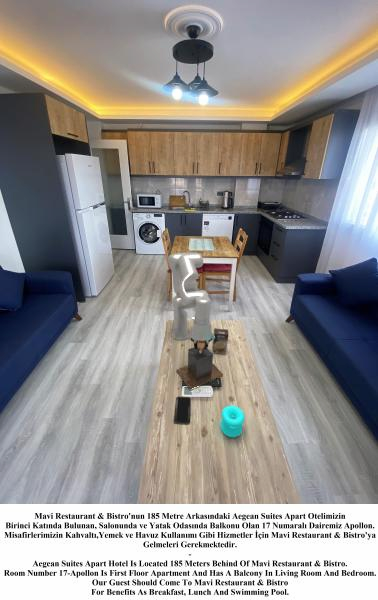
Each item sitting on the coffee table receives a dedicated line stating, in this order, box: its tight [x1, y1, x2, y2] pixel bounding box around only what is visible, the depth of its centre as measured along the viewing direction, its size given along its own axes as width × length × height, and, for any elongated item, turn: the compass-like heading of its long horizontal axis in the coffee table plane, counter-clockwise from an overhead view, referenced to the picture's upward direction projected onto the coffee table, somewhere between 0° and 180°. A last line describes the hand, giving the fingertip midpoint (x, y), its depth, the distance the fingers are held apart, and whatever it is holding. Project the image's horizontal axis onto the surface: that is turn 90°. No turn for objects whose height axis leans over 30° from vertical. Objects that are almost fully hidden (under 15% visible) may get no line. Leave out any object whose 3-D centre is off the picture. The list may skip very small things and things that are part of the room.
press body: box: [175, 346, 224, 390], centre depth 137 cm, size 16×22×16 cm
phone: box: [173, 396, 192, 425], centre depth 119 cm, size 8×1×15 cm
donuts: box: [219, 405, 246, 438], centre depth 109 cm, size 10×10×10 cm
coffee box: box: [211, 328, 229, 356], centre depth 156 cm, size 9×6×16 cm
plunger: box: [196, 340, 206, 354], centre depth 135 cm, size 8×8×21 cm
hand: (200, 347), depth 132 cm, fingers closed on plunger, 5 cm apart
